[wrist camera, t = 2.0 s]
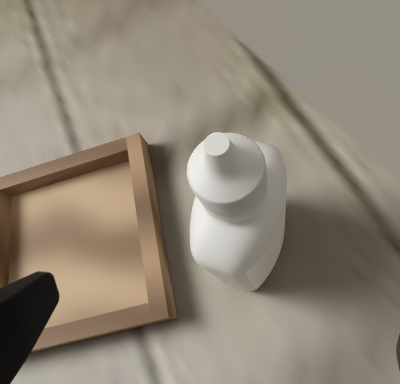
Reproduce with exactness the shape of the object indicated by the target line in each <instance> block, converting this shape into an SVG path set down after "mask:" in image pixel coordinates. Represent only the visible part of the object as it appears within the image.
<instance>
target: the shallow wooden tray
mask: <svg viewBox="0 0 400 384" xmlns="http://www.w3.org/2000/svg"><path fill="white" fill-rule="evenodd" d="M37 271H43V272H50V273H52V274H53V276H54V278H55V281H56V285H57V288H58V291H59V295H60V298H59V302H58V304H57V306H56V308H55V310H54V312H53V313H52V315H51V317H50V319H49V321H48V323H47V324H46V326H45V328H44V330H43V332H42V333H41V335H40V337H39V339H38V341H37V343H36V344H35V346H34V348H33V350H32V351H31V353H32V352H36V351H40V350H44V349H49V348H53V347H57V346H61V345H65V344H70V343H74V342H78V341H82V340H86V339H91V338H95V337H99V336H103V335H107V334H112V333H116V332H120V331H124V330H128V329H132V328H137V327H141V326H145V325H149V324H153V323H158V322H162V321H166V320H170V319H174V318H177V313H176V308H175V302H174V296H173V290H172V284H171V278H170V272H169V266H168V260H167V254H166V248H165V242H164V236H163V230H162V224H161V218H160V212H159V206H158V200H157V194H156V188H155V182H154V176H153V170H152V164H151V158H150V152H149V146H148V143H147V142H146V141H145V139H144V138H143V137H142V136H141V134H140V133H137V134H134V135H131V136H128V137H125V138H122V139H119V140H116V141H112V142H109V143H106V144H103V145H100V146H97V147H94V148H91V149H87V150H84V151H81V152H78V153H75V154H72V155H69V156H66V157H62V158H59V159H56V160H53V161H50V162H47V163H44V164H41V165H37V166H34V167H31V168H28V169H25V170H22V171H19V172H16V173H13V174H9V175H6V176H3V177H0V288H1V287H3V286H6V285H8V284H10V283H12V282H15V281H17V280H19V279H21V278H23V277H26V276H28V275H30V274H32V273H35V272H37Z"/></svg>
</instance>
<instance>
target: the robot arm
mask: <svg viewBox="0 0 400 384" xmlns="http://www.w3.org/2000/svg"><path fill="white" fill-rule="evenodd" d="M59 298H60V295H59V291H58V288H57V285H56V281H55V278H54V276H53V274H52V273H50V272H43V271H37V272H35V273H32V274H30V275H28V276H26V277H23V278H21V279H19V280H17V281H15V282H12V283H10V284H8V285H6V286H3V287H1V288H0V384H10V383H11V382H12V380H13V379H14V377H15V376H16V374H17V373H18V371H19V370H20V368H21V367H22V365H23V364H24V362H25V361H26V359H27V358H28V356H29V355H30V353H31V351H32V350H33V348H34V346H35V344H36V343H37V341H38V339H39V337H40V335H41V333H42V332H43V330H44V328H45V326H46V324H47V323H48V321H49V319H50V317H51V315H52V313H53V312H54V310H55V308H56V306H57V304H58V302H59ZM396 352H397V360H398V365H399V370H400V335H399V339H398V342H397V348H396Z"/></svg>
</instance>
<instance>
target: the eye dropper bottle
mask: <svg viewBox="0 0 400 384" xmlns="http://www.w3.org/2000/svg"><path fill="white" fill-rule="evenodd" d="M192 153H193V154H192V155H191V157H190V158H189V162H188V165H187V167H188V168H187V175H188V176H187V178H188V182H189V185H190V187H191V189H192V190H193V192H194V194H195V195H196V196H195V200H194V203H193V208H192V213H191V222H190V246H191V253H192V255H193V258H194V260H195V262H197V263H198V264H199V265H200V266H202V267H203V268H204V269H205V270H207V271H208V272H210V273H211V274H212V275H214V276H215V277H217V278H218V279H220V280H221V281H223V282H224V283H227V284H229V285H232V286H234V287H237V288H239V289H242V290H245V291H254V290H256V289H258V288H259V287H260V286H261V285H262V283H263V282H264V281H265V280H266V278H267V277H268V276H269V274H270V273H271V271H272V269H273V267H274V266H275V264H276V262H277V259H278V257H279V254H280V251H281V248H282V244H283V239H284V231H285V213H286V169H285V163H284V159H283V155H282V154H281V152H280V150H279V149H278V148H276V147H274V146H272V145H269V144H266V143H262V142H258V141H253V140H252V139H249V138H248V137H245V135H241V134H237V133H221V132H215V133H212V134H210V135H209V136H208V137H207V138H206V139H205V140H204V141H203V142H202V143H200V145H198V146H197V148H195V150H194V151H193V152H192Z"/></svg>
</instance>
